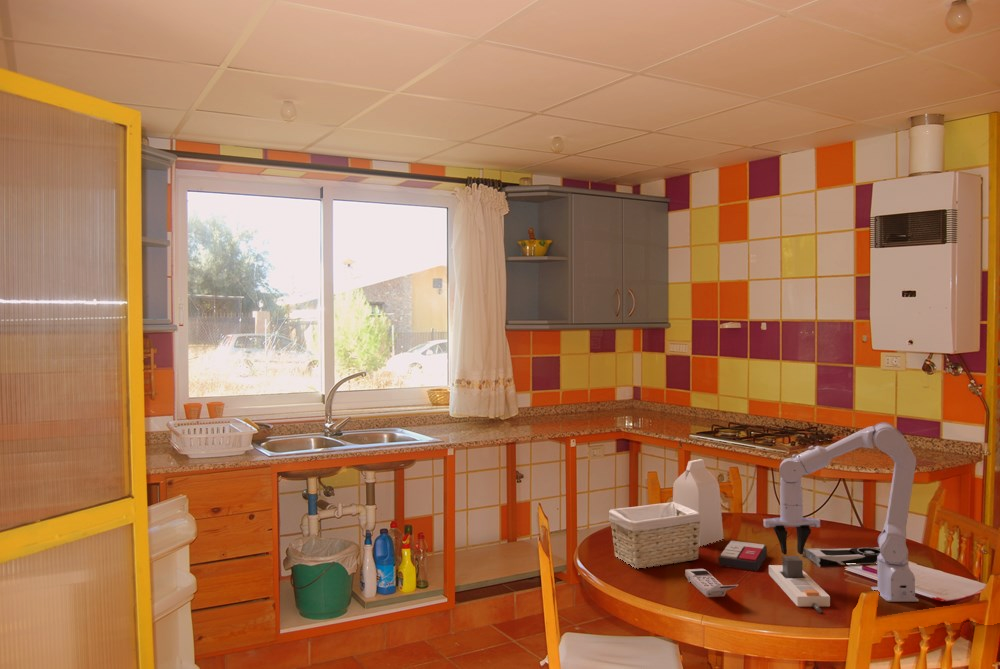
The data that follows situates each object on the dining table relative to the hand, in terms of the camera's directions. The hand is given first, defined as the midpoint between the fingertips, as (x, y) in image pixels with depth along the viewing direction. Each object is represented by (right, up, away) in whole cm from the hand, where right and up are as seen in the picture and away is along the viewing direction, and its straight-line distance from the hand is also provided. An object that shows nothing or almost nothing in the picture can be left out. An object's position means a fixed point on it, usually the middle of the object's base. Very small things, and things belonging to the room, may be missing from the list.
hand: (792, 553), depth 205 cm
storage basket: (-32, -9, +25) cm, 42 cm away
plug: (0, -8, 0) cm, 9 cm away
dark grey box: (-7, -9, +20) cm, 23 cm away
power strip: (0, -9, -6) cm, 10 cm away
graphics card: (+25, -8, +18) cm, 32 cm away
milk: (-14, -8, +43) cm, 46 cm away
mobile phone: (-23, -10, -3) cm, 25 cm away
